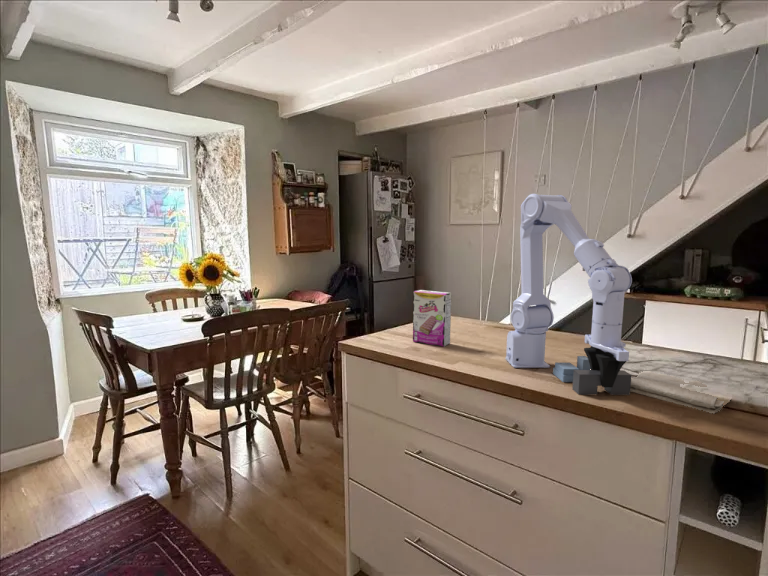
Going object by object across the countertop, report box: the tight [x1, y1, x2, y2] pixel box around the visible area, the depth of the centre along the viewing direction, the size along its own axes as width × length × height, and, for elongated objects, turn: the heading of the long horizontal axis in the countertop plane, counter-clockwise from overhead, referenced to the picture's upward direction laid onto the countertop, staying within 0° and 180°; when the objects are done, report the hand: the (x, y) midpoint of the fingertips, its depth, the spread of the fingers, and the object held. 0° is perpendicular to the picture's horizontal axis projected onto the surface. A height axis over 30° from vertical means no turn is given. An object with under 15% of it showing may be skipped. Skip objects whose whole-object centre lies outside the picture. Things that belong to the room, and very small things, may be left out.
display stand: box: [552, 355, 591, 383], centre depth 101 cm, size 12×6×5 cm, turn 90°
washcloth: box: [630, 370, 725, 415], centre depth 91 cm, size 12×18×3 cm, turn 40°
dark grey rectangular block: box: [572, 369, 632, 396], centre depth 92 cm, size 11×3×4 cm, turn 89°
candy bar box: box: [412, 289, 452, 347], centre depth 132 cm, size 11×5×16 cm, turn 58°
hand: (602, 383), depth 92 cm, fingers closed on dark grey rectangular block, 3 cm apart
